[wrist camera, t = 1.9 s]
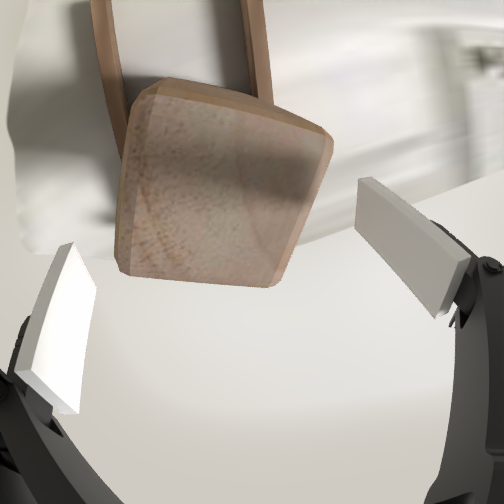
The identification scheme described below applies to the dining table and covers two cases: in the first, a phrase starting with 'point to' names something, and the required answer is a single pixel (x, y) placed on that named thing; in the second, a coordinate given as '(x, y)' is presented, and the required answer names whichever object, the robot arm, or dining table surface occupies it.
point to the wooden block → (214, 185)
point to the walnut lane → (113, 73)
